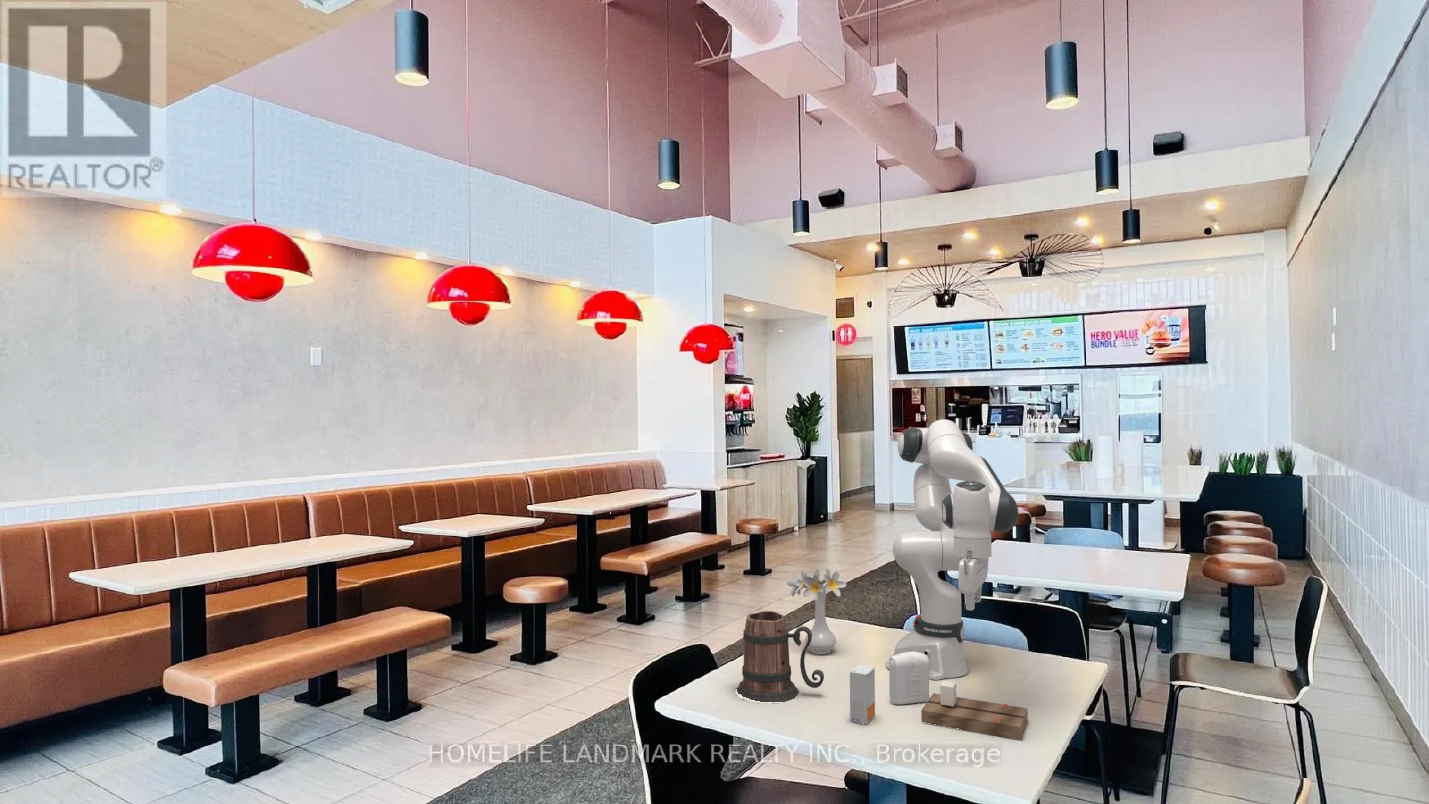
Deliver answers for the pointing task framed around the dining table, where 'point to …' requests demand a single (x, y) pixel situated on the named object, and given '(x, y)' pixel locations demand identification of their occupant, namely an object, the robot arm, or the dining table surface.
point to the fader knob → (948, 693)
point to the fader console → (977, 717)
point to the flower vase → (818, 606)
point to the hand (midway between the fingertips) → (973, 605)
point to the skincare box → (862, 694)
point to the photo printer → (909, 678)
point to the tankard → (771, 659)
